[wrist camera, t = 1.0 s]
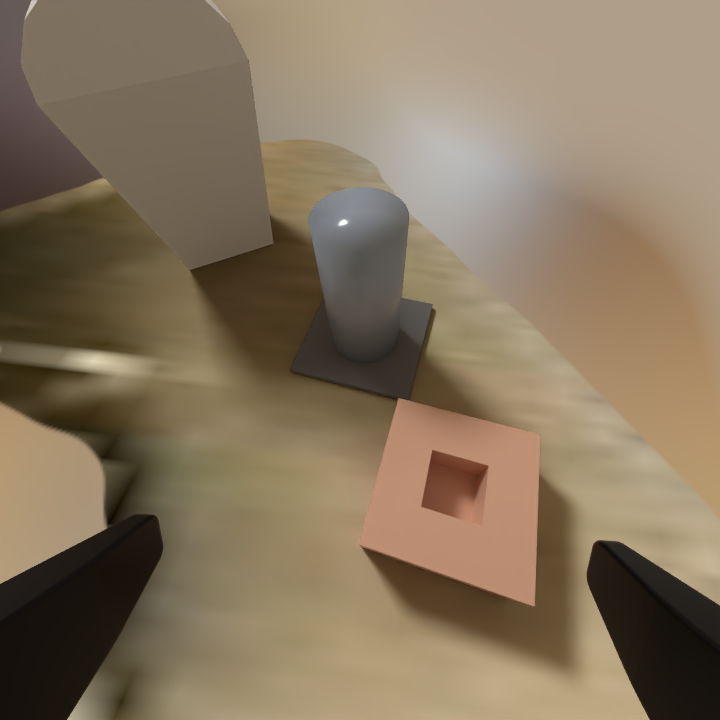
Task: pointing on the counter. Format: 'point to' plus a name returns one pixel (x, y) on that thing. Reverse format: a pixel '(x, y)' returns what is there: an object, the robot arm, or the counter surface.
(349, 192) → the grey domed cylinder
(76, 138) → the soap bottle
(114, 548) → the robot arm
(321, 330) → the mat
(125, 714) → the counter surface
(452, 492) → the salmon flat square slab
